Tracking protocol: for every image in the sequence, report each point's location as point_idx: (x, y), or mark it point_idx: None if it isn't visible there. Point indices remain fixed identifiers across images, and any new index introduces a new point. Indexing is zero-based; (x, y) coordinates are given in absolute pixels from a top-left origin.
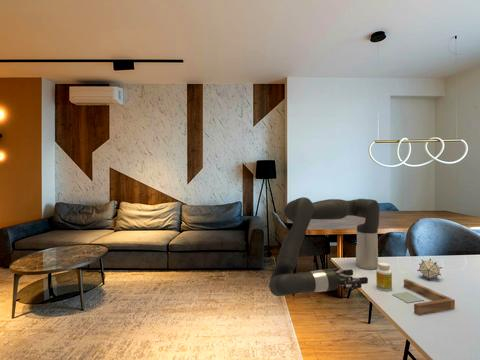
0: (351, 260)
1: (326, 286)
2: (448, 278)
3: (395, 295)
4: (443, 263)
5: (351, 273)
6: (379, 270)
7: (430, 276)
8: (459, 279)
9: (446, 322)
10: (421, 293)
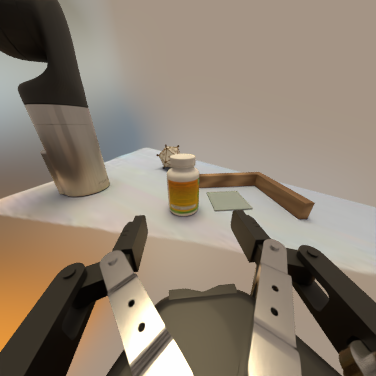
0: (38, 192)
1: None
2: None
3: (221, 208)
4: (147, 155)
5: (145, 232)
6: (185, 174)
7: None
8: None
9: None
10: (217, 184)
